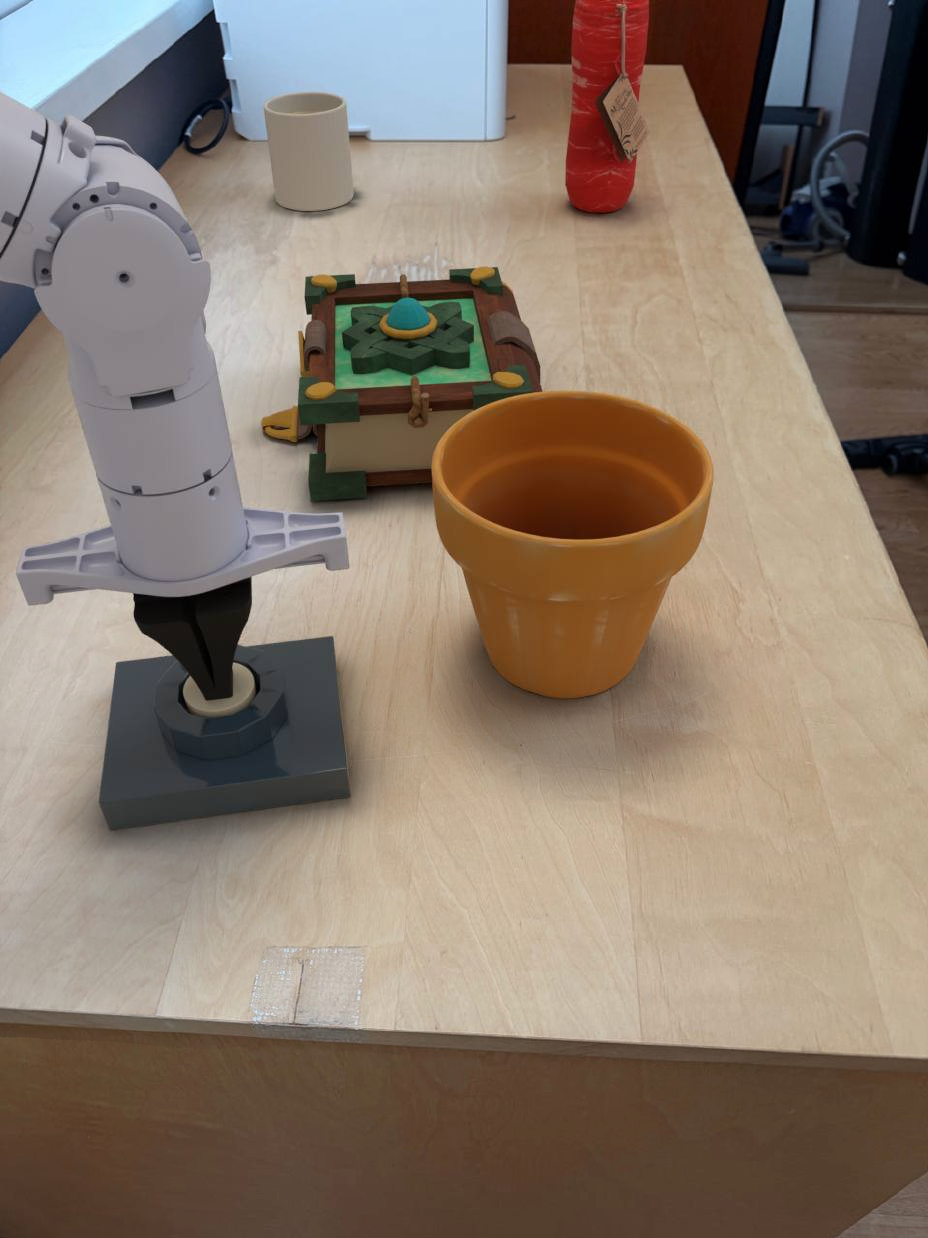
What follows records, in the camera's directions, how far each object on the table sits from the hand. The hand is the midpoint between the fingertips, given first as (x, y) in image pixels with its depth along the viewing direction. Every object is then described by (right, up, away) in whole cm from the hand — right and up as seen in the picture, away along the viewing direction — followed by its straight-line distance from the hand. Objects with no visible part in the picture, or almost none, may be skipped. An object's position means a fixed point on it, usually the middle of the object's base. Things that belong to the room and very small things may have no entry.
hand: (219, 685), depth 53 cm
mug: (-4, +52, +66) cm, 84 cm away
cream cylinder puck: (0, -1, +1) cm, 2 cm away
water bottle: (+28, +48, +61) cm, 82 cm away
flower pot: (+18, +2, +8) cm, 20 cm away
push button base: (0, -3, +3) cm, 4 cm away
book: (+7, +20, +30) cm, 37 cm away
